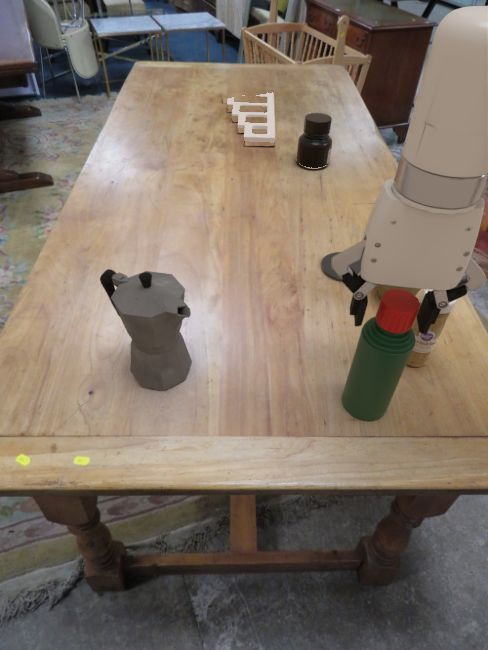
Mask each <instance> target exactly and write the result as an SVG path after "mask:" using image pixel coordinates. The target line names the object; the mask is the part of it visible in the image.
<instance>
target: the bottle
mask: <svg viewBox="0 0 488 650" xmlns="http://www.w3.org/2000/svg"><path fill="white" fill-rule="evenodd" d="M415 342H416V340H415V334H414V331H413V330H412V328H410V329H409V330H408V331H407V332H405V333H391V332H388V331H386V330H384V329H383V328H381V327H380V326H379V325H378V323H377V321H376V315H375V316H372V317H370V318H369V319H368V320H367V321H366V322H365V323H364V324H362V328H361V331H360V335H359V337H358V341H357V345H356V348H355V351H354V355H353V358H352V361H351V365H350V368H349V372H348V375H347V378H346V382H345V385H344V387H343V391H342V396H341V402H342V405H343V408H344V409H345V411H346V412H347V413H348V414H349V415H350V416H352V417H353V418H356V419H358V420H360V421H364V422H375V421H377V420H380V419H381V418H382V417H384V415H386V412H387V410H388V408H389V405H390V403H391V401H392V399H393V396H394V394H395V392H396V389H397V387H398V385H399V383H400V381H401V378H402V377H403V373H404V371H405V369H406V366H407V362H408V360H409V357H410V355H411V353H412V350H413V348H414V346H415Z"/></svg>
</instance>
